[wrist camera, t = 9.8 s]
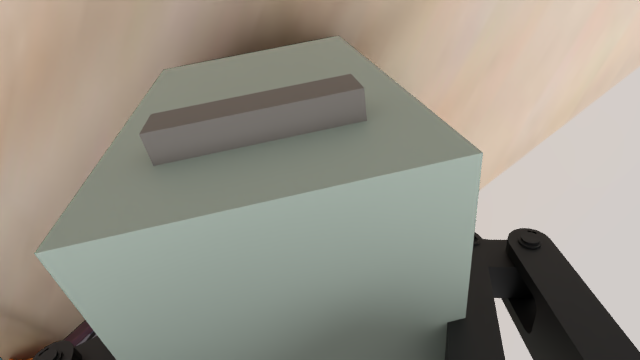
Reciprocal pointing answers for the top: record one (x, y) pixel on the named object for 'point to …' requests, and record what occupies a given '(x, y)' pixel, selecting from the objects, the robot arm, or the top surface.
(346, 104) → the cabinet box
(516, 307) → the robot arm
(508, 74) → the top surface
